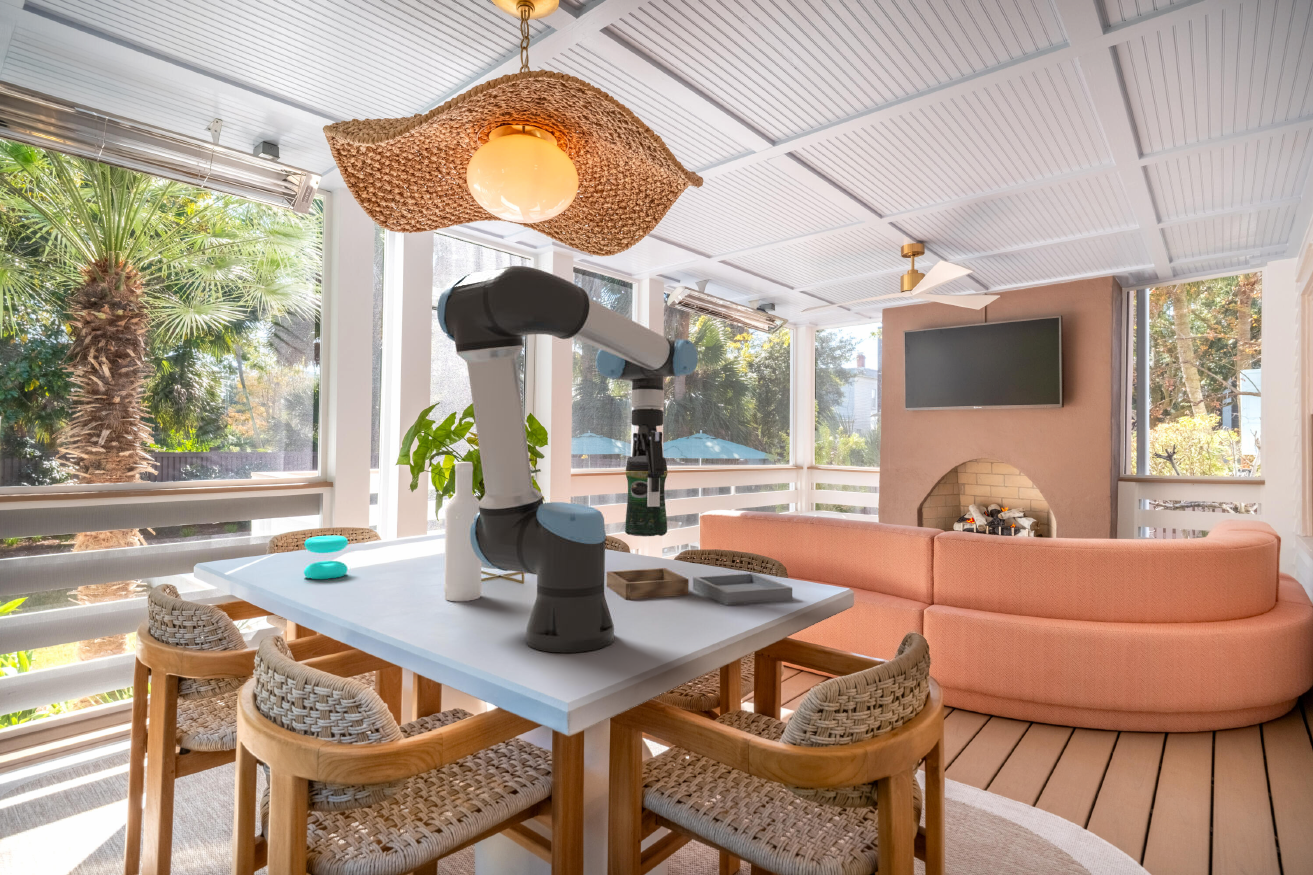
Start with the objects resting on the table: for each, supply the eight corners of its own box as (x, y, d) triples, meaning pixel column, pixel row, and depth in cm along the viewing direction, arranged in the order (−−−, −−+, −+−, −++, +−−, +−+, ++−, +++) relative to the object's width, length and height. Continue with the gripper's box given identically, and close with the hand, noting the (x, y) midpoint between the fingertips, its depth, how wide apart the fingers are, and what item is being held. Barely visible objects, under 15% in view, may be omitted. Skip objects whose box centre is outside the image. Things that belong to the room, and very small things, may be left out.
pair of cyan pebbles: (302, 536, 174) (345, 533, 179) (302, 575, 174) (344, 571, 179) (306, 541, 165) (350, 538, 171) (305, 581, 165) (350, 577, 171)
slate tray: (726, 605, 143) (726, 592, 143) (693, 588, 160) (693, 576, 160) (792, 600, 148) (792, 587, 148) (752, 584, 165) (753, 572, 165)
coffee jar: (671, 534, 159) (672, 455, 160) (658, 538, 152) (659, 455, 152) (633, 531, 163) (635, 455, 164) (619, 535, 156) (621, 455, 156)
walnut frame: (625, 599, 148) (625, 583, 148) (606, 586, 162) (606, 571, 162) (688, 594, 153) (688, 579, 153) (664, 582, 167) (664, 567, 167)
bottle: (474, 592, 155) (476, 461, 155) (486, 598, 148) (487, 462, 148) (439, 596, 150) (440, 461, 151) (449, 603, 144) (451, 462, 144)
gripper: (679, 406, 149) (678, 508, 149) (647, 411, 170) (645, 501, 169) (648, 405, 147) (646, 508, 146) (618, 410, 167) (617, 501, 167)
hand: (646, 504), depth 158 cm, fingers closed on coffee jar, 9 cm apart
